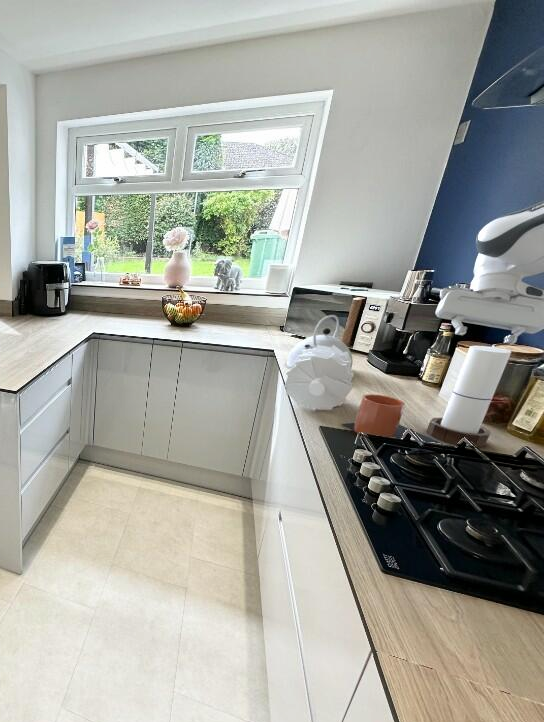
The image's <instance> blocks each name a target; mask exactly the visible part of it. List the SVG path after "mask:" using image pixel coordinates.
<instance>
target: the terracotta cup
mask: <svg viewBox="0 0 544 722" xmlns="http://www.w3.org/2000/svg"><path fill="white" fill-rule="evenodd" d="M405 406H406V404H405V402H404V401H402V400H401V399H398V398H395V397H392V396H388V395H381V394H375V393H374V394H373V393H369V394H363V395H362V397H361V400H360V404H359V407H358V411H357V413H356V417H355V421H354V423H355V424H354V432H355V433H356V434H358V435H360V433H359V432H363V433H366V434H372V435H379V436H385V437H394V436H395V433H396V430H397V427H398V424H399V425H400V421H401V419H402V416H403V412H404V410H405Z"/></svg>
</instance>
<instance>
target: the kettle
mask: <svg viewBox="0 0 544 722" xmlns="http://www.w3.org/2000/svg"><path fill="white" fill-rule="evenodd" d="M329 318H334V319H335V321H336V327H335V330H334V333H333V335H332V336H331V335H329V334H331V329H330V328H328V327H325V328H324V329H323V330H322V334H320V335H317V334H318V333H317V332H318V330H319V327H320V325H321V324H322V323H323V321H325V320H328V319H329ZM339 327H340V320H339V317H338V316H336V315H335V314H330V315H326V316H324V317H323V318H321V319H320V320H319V321H318V323H317V324H316V326H315V327H314V331H313V335H311V336H309V337H307V338H304V339H302V340H300V341H299V342H298V343H296V344H295V346H293V347H292V349H291V351H290V352H289V355H288V357H287V361H286V366H287V367H288V368H290V366H291V365H293V364H294V361H295V360H296V359H297V358H298V356H300V355H302V354H303V353H302V351H304V350H308V349H312V348H316V346H317V345H321V346H326V347H332V346H333V345H335V346H336V347H337V348H338V349H340V350H341V351H342V352H348V353H349V356H350V360H351V363H349V364H350V371H352V368H353V363H354V362H353V360H354V359H353V354H352V352H351V350H350V347H348V346H347V344H346V343H344V341H342V340H341V339H339V338H337V337H336V336H337V334H338V331H339Z"/></svg>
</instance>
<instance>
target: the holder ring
mask: <svg viewBox="0 0 544 722" xmlns="http://www.w3.org/2000/svg"><path fill="white" fill-rule="evenodd" d="M442 419H443V416H441V417H432V418H431V419H430V421H429V424H428V426H427V429H426V433H427V434H429V435H430V436H431V437H432V438H434V439H437V440H440V441H441V442H445V443H448V444H452V445H456V446H458V445H457V443H458V442H459V441H460V440H461V439H462V438H464V437H466V438H468V439H469V440H470V441H472V442H473V443H474V444H475V445H476V446H477V447H476V448H484V447H485V446H486V444H487V442H488V440H489V438H490V436H491V433H492V431H490V430H489V429H487V428H486V427H484V426H482V425H481V426H480V429H479V431H478V434H472V433H465V432H460V431H456V430H452V429H449V428H446V427H444V426H441V422H442Z"/></svg>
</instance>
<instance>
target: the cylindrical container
mask: <svg viewBox="0 0 544 722" xmlns="http://www.w3.org/2000/svg"><path fill="white" fill-rule="evenodd" d="M511 354H512V351H511V350H509V349H505V348H501V347H494V346H488V345H487V346H486V345H470V346H469V348H468V350H467V352H466V355H465V358H464V361H463V363H462V365H461V369H460V372H459V374H458V377H457V380H456V382H455V385H454V388H453V390H452V393H451V396H450V398H449V400H448V403H447V406H446V409H445V411H444V415H443V416H442V418H443V419H442V422H441V426H444V427H446V428H449V429H452V430H456V431H460V432H465V433H472V434H478V431H479V429H480V426H482V424H483V421H484V419H485V417H486V415H487V413H488V410H489V407H490V404H491V403H492V400H493V398H494V395H495V393H496V390H497V388H498V386H499V383H500V381H501V378H502V377H503V373H504V371H505V368H506V366H507V364H508V361H509V359H510V356H511Z"/></svg>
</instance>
